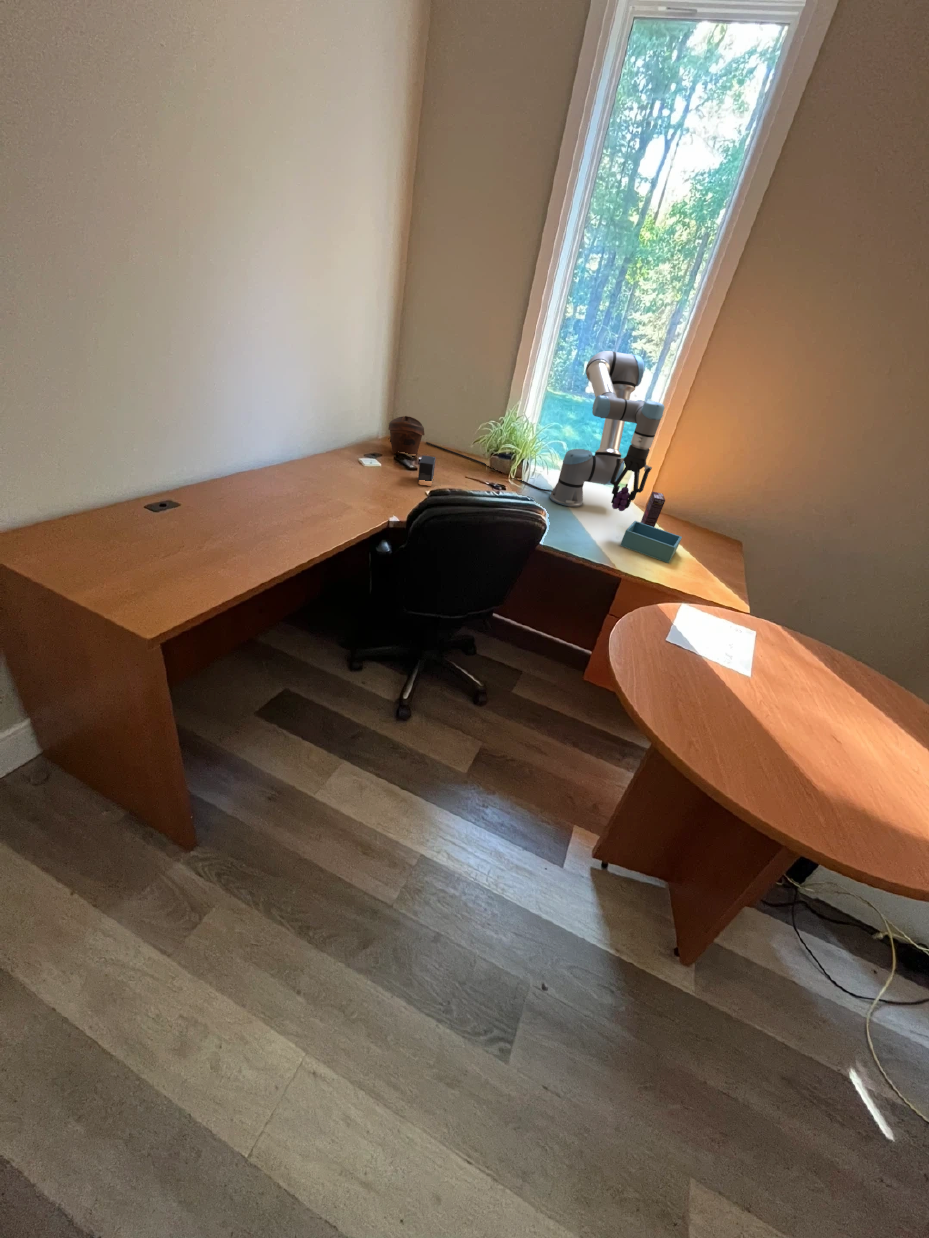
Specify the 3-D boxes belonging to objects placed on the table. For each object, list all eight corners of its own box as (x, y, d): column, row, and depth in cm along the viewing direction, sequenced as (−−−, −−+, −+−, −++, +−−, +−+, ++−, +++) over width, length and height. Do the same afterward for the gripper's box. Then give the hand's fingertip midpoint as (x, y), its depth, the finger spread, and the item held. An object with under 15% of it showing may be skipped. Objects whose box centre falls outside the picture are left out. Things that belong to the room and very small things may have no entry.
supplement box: (651, 535, 211) (665, 500, 202) (640, 532, 211) (654, 497, 202) (649, 527, 218) (663, 493, 209) (639, 525, 218) (651, 491, 209)
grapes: (610, 508, 196) (618, 483, 190) (614, 505, 200) (622, 480, 194) (622, 513, 194) (631, 487, 188) (626, 509, 198) (635, 484, 192)
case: (407, 446, 263) (410, 411, 253) (429, 458, 251) (433, 422, 241) (379, 449, 253) (380, 412, 242) (400, 461, 241) (403, 424, 231)
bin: (620, 545, 197) (625, 530, 193) (629, 535, 207) (634, 520, 203) (668, 563, 190) (675, 547, 186) (675, 551, 200) (682, 536, 196)
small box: (419, 477, 227) (421, 454, 221) (433, 479, 228) (436, 456, 222) (416, 484, 219) (419, 461, 213) (431, 487, 219) (433, 464, 213)
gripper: (613, 441, 184) (595, 499, 197) (661, 455, 177) (639, 514, 190) (619, 438, 189) (601, 495, 203) (666, 451, 182) (644, 509, 196)
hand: (620, 504), depth 196 cm, fingers closed on grapes, 5 cm apart
